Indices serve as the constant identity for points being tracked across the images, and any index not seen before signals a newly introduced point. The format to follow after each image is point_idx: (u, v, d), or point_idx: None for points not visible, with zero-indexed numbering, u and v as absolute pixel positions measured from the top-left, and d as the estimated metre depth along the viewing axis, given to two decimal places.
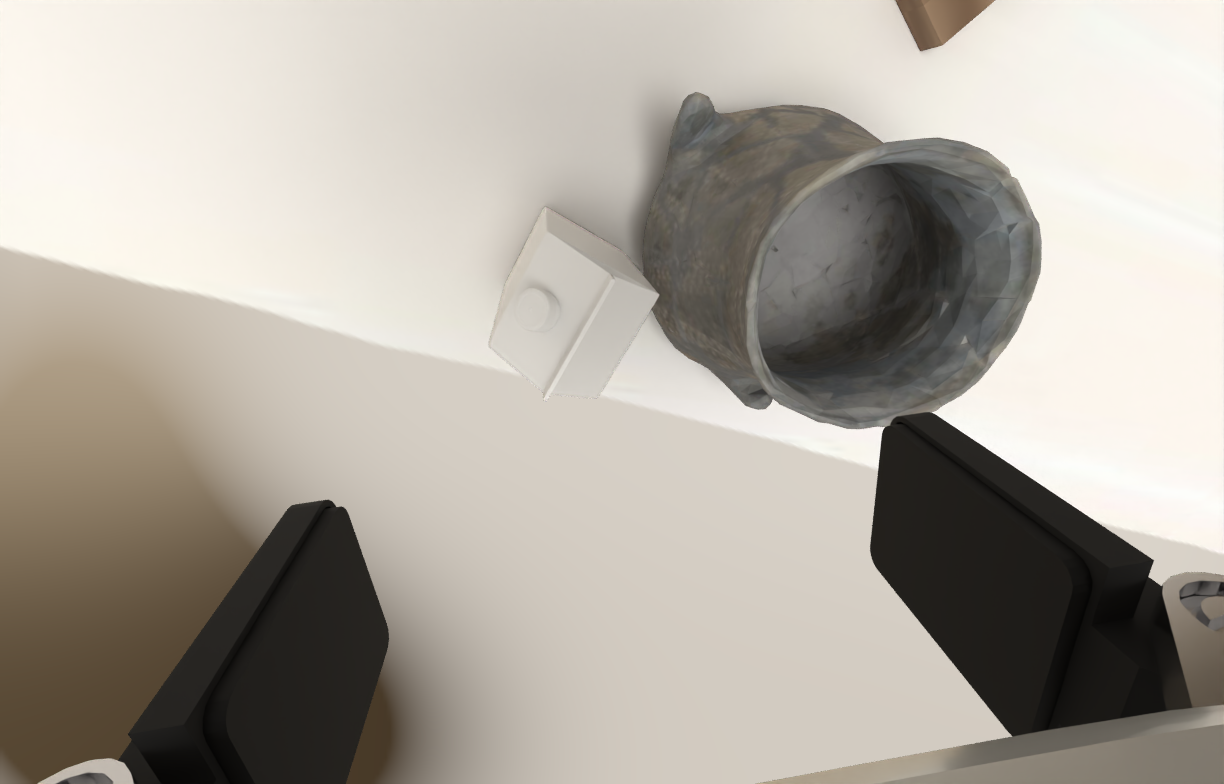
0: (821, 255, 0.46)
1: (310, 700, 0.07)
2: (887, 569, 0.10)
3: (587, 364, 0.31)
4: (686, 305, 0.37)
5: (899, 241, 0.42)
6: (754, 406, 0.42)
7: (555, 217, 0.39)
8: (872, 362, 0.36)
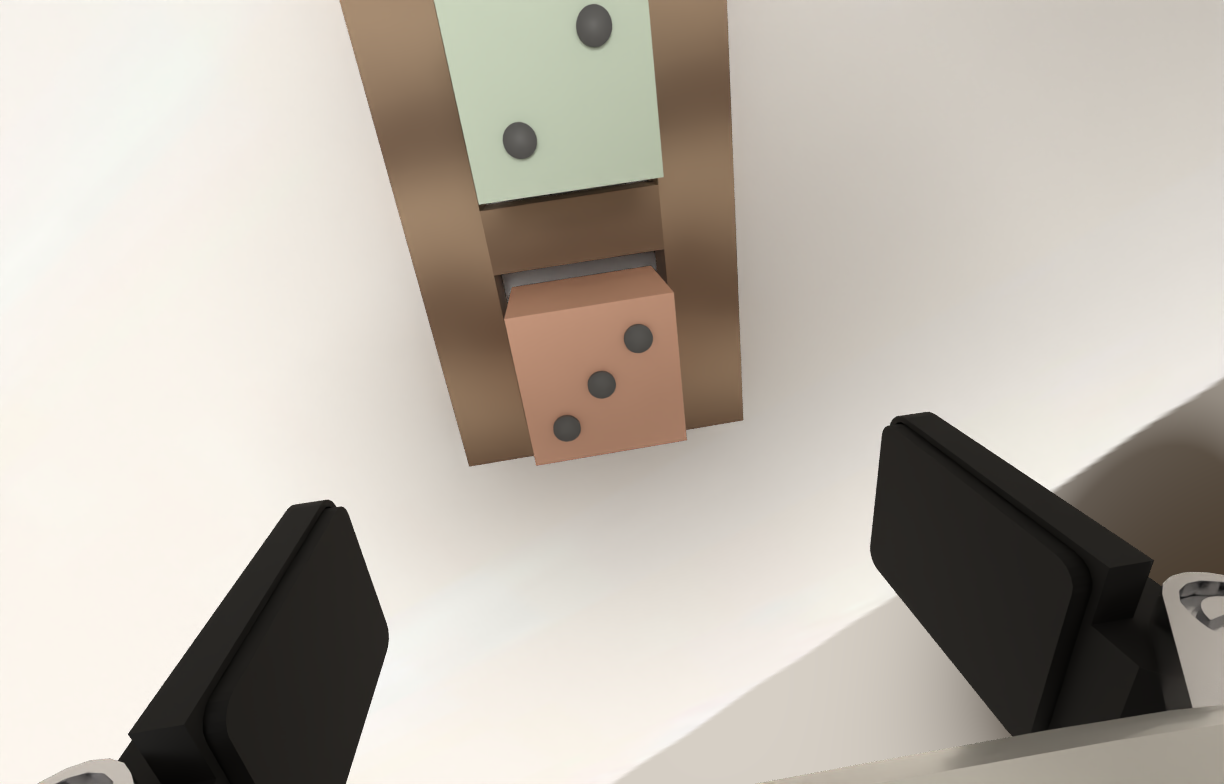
0: None
1: (310, 700, 0.07)
2: (887, 569, 0.10)
3: None
4: None
5: None
6: None
7: None
8: None
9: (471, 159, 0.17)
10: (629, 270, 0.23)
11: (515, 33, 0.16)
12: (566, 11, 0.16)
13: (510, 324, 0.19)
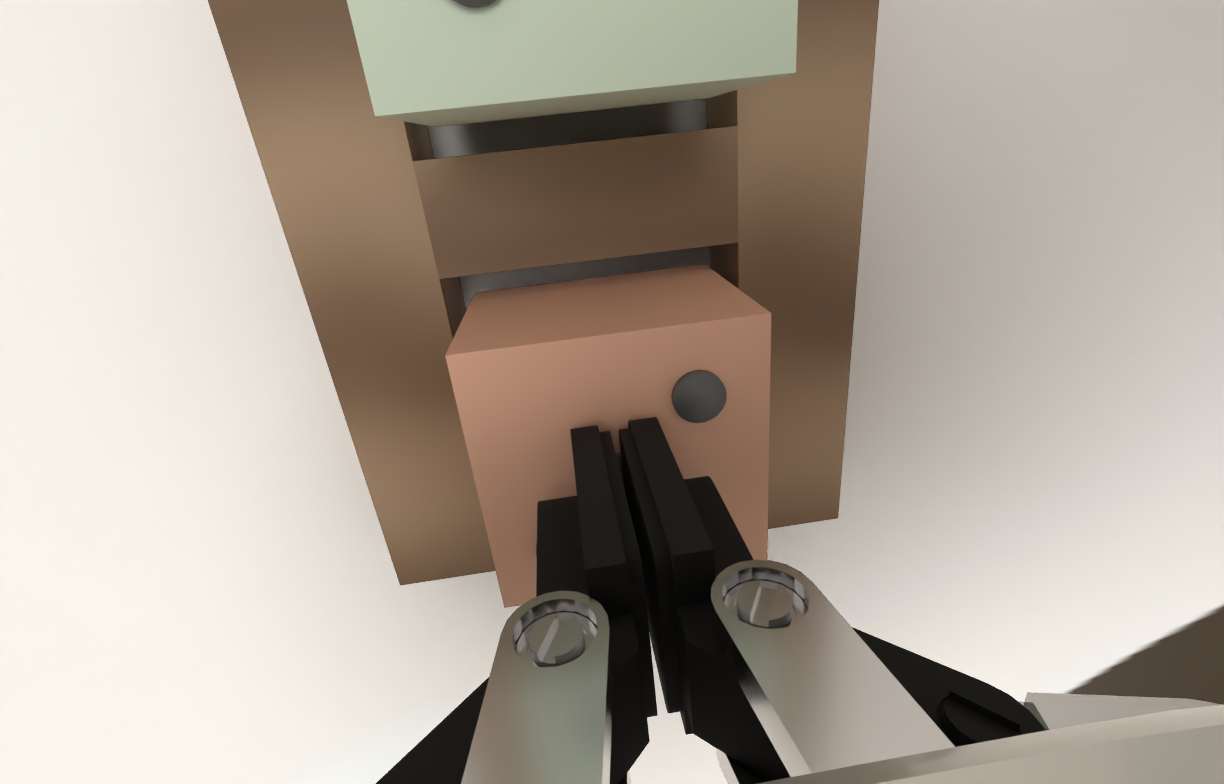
0: None
1: None
2: None
3: None
4: None
5: None
6: None
7: None
8: None
9: (352, 0, 0.07)
10: (670, 270, 0.14)
11: None
12: None
13: (457, 365, 0.10)
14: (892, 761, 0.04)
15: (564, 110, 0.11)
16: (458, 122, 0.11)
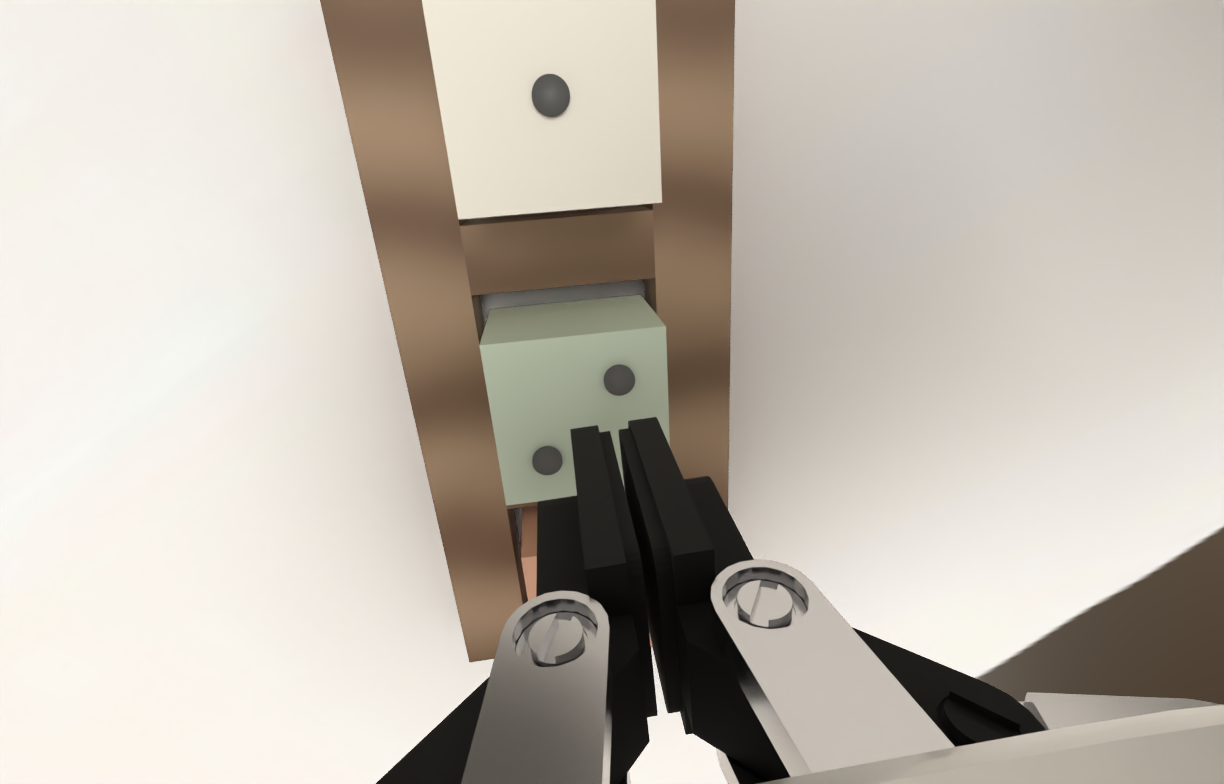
0: None
1: None
2: None
3: None
4: None
5: None
6: None
7: None
8: None
9: (503, 473, 0.19)
10: None
11: (550, 383, 0.18)
12: (595, 368, 0.18)
13: (526, 561, 0.23)
14: (892, 761, 0.04)
15: None
16: None
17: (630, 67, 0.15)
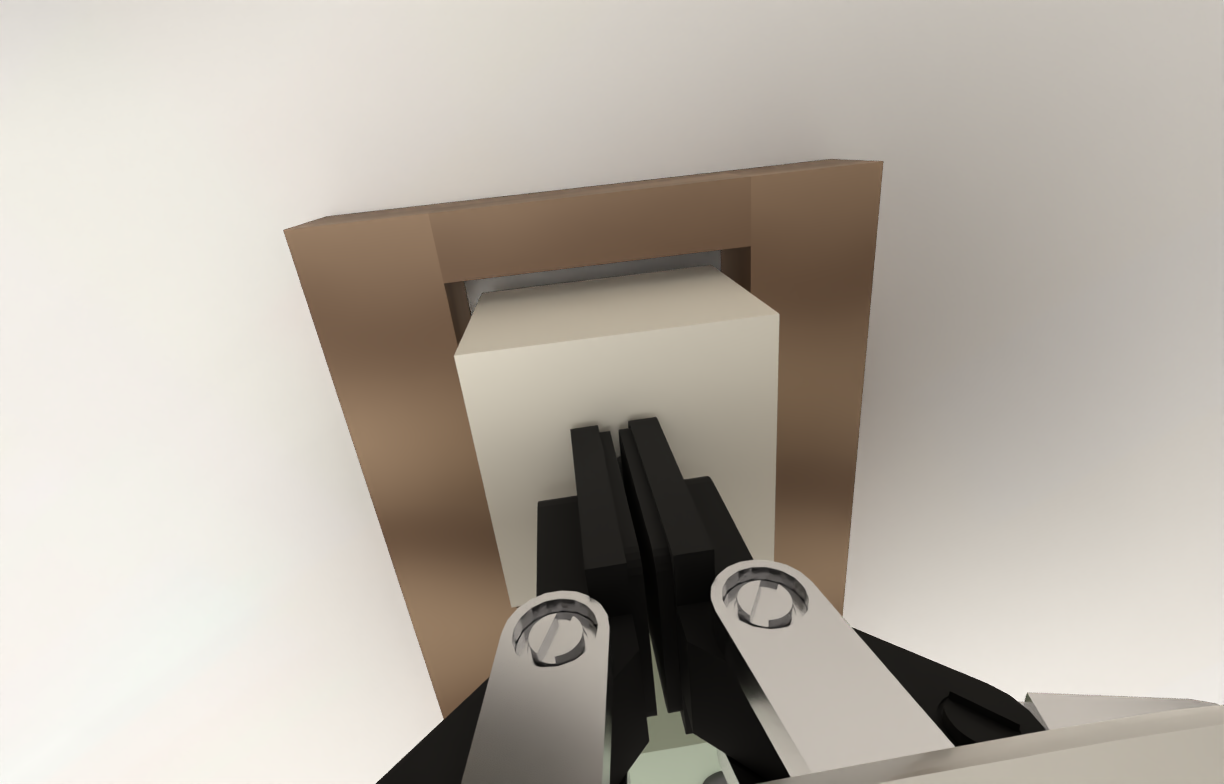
0: None
1: None
2: None
3: None
4: None
5: None
6: None
7: None
8: None
9: None
10: None
11: None
12: (692, 777, 0.13)
13: None
14: (892, 761, 0.04)
15: None
16: None
17: (740, 433, 0.11)
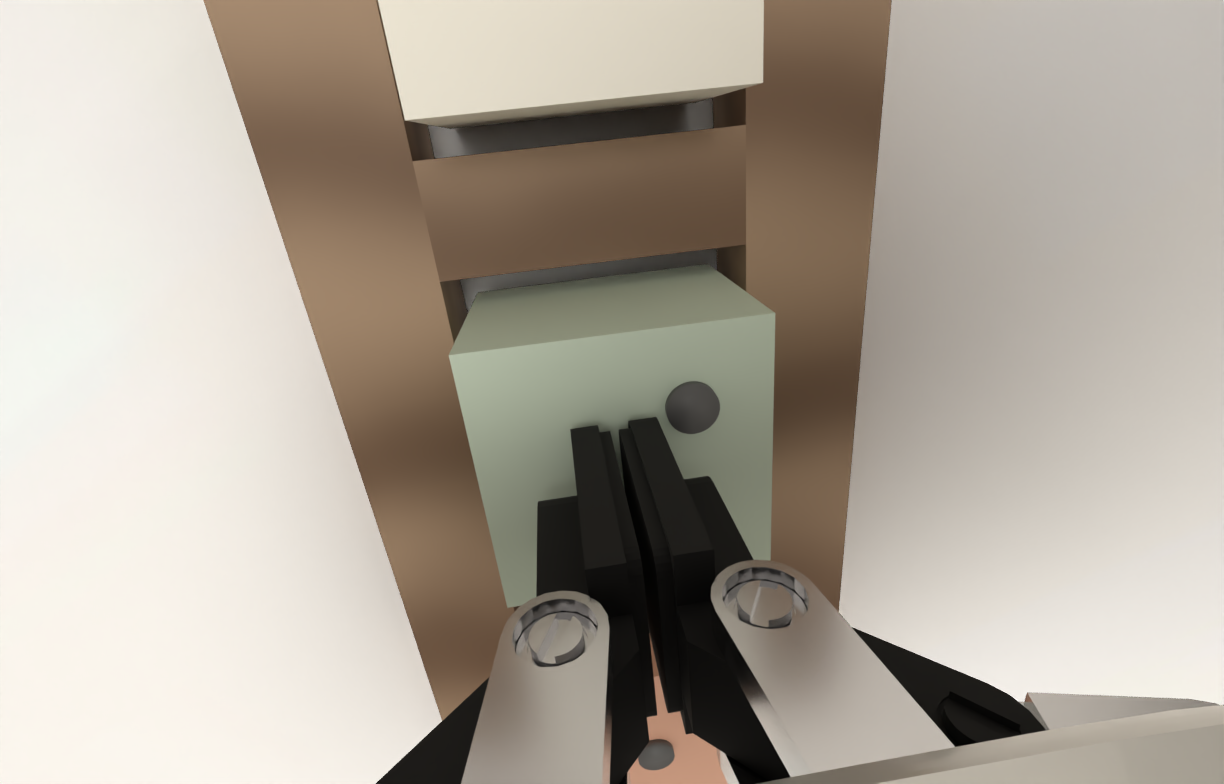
0: None
1: None
2: None
3: None
4: None
5: None
6: None
7: None
8: None
9: (500, 560, 0.12)
10: None
11: (575, 416, 0.10)
12: (652, 388, 0.10)
13: None
14: (892, 761, 0.04)
15: None
16: None
17: None
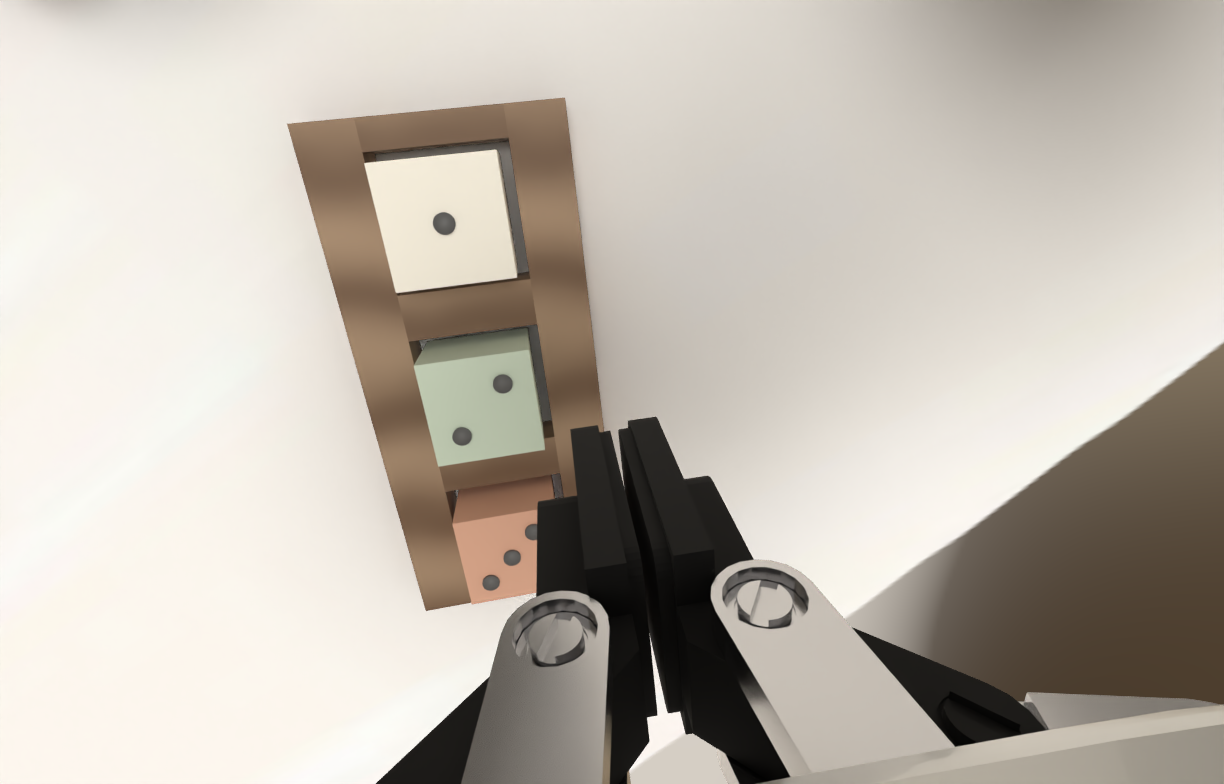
0: None
1: None
2: None
3: None
4: None
5: None
6: None
7: None
8: None
9: (434, 445, 0.30)
10: None
11: (459, 387, 0.29)
12: (487, 377, 0.29)
13: (456, 526, 0.32)
14: (892, 761, 0.04)
15: None
16: None
17: (489, 205, 0.26)
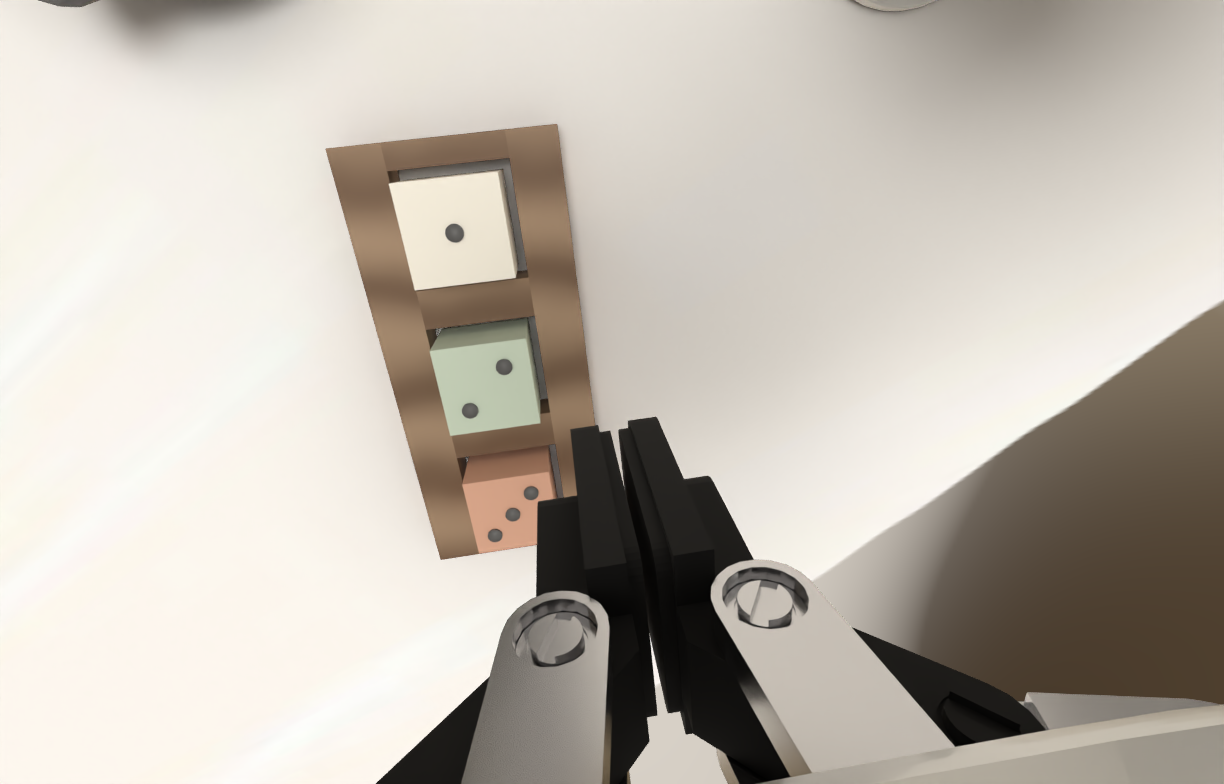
0: None
1: None
2: None
3: None
4: None
5: None
6: None
7: None
8: None
9: (447, 418, 0.36)
10: None
11: (468, 369, 0.35)
12: (491, 361, 0.35)
13: (465, 486, 0.38)
14: (892, 761, 0.04)
15: None
16: None
17: (492, 218, 0.31)
